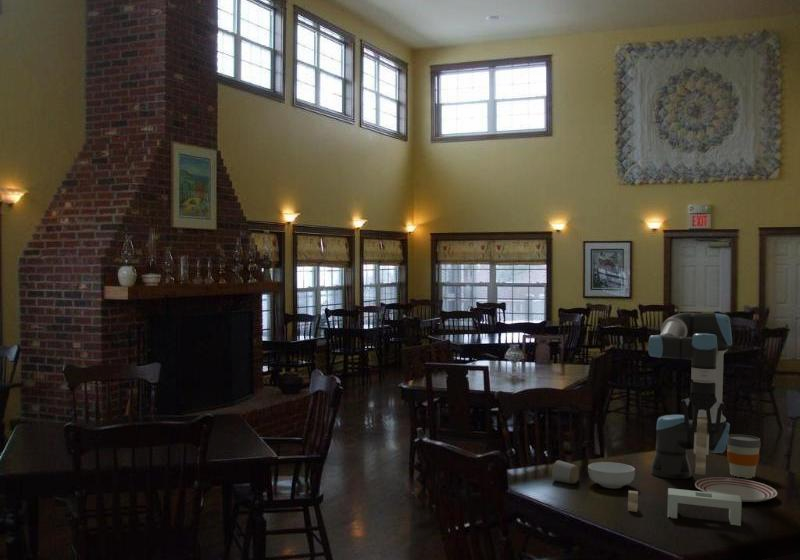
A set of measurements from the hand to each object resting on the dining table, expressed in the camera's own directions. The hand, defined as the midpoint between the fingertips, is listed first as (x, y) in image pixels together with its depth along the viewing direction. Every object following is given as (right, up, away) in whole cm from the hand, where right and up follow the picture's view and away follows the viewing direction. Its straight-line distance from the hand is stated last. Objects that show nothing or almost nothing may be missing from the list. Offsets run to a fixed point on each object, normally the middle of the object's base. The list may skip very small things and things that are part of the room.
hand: (701, 453), depth 264 cm
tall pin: (0, -7, 0) cm, 7 cm away
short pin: (-20, -20, +7) cm, 29 cm away
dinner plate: (+23, -22, +28) cm, 42 cm away
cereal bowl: (-20, -20, +37) cm, 46 cm away
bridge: (+1, -21, 0) cm, 21 cm away
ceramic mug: (-35, -20, +41) cm, 58 cm away
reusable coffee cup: (+38, -21, +58) cm, 72 cm away
